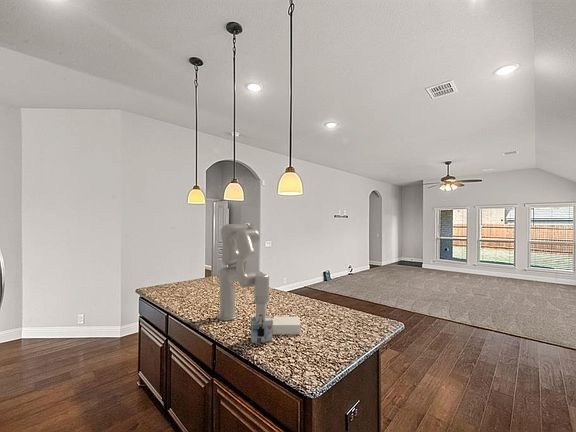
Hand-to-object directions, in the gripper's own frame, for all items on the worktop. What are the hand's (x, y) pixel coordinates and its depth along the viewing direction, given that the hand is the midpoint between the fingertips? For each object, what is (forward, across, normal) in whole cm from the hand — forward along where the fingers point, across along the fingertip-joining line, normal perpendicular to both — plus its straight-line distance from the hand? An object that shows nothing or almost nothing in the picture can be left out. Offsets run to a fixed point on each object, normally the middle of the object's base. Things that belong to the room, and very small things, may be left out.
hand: (261, 332), depth 144 cm
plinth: (+4, -13, +13) cm, 19 cm away
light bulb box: (+4, 0, 0) cm, 4 cm away
